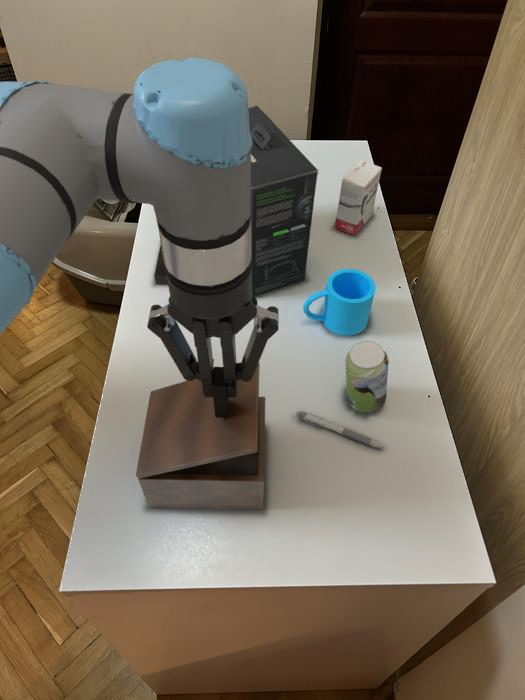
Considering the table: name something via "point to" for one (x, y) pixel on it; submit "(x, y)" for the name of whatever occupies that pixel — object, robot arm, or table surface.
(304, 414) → the pen
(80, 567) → the table surface
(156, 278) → the button block
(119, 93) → the robot arm
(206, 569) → the table surface
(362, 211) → the ink box
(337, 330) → the mug
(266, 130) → the headset box
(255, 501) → the chest
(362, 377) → the beverage can
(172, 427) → the brown wooden lid
